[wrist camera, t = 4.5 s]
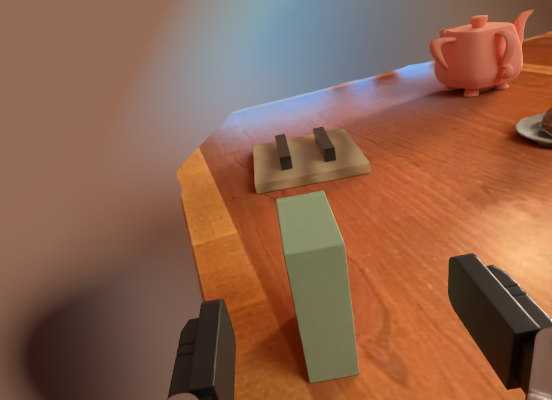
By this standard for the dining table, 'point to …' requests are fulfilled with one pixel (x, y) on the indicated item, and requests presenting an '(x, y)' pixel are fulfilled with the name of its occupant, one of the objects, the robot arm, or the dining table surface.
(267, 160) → the seat base
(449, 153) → the dining table surface
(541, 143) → the pastry
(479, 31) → the teapot
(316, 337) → the green rectangular block
